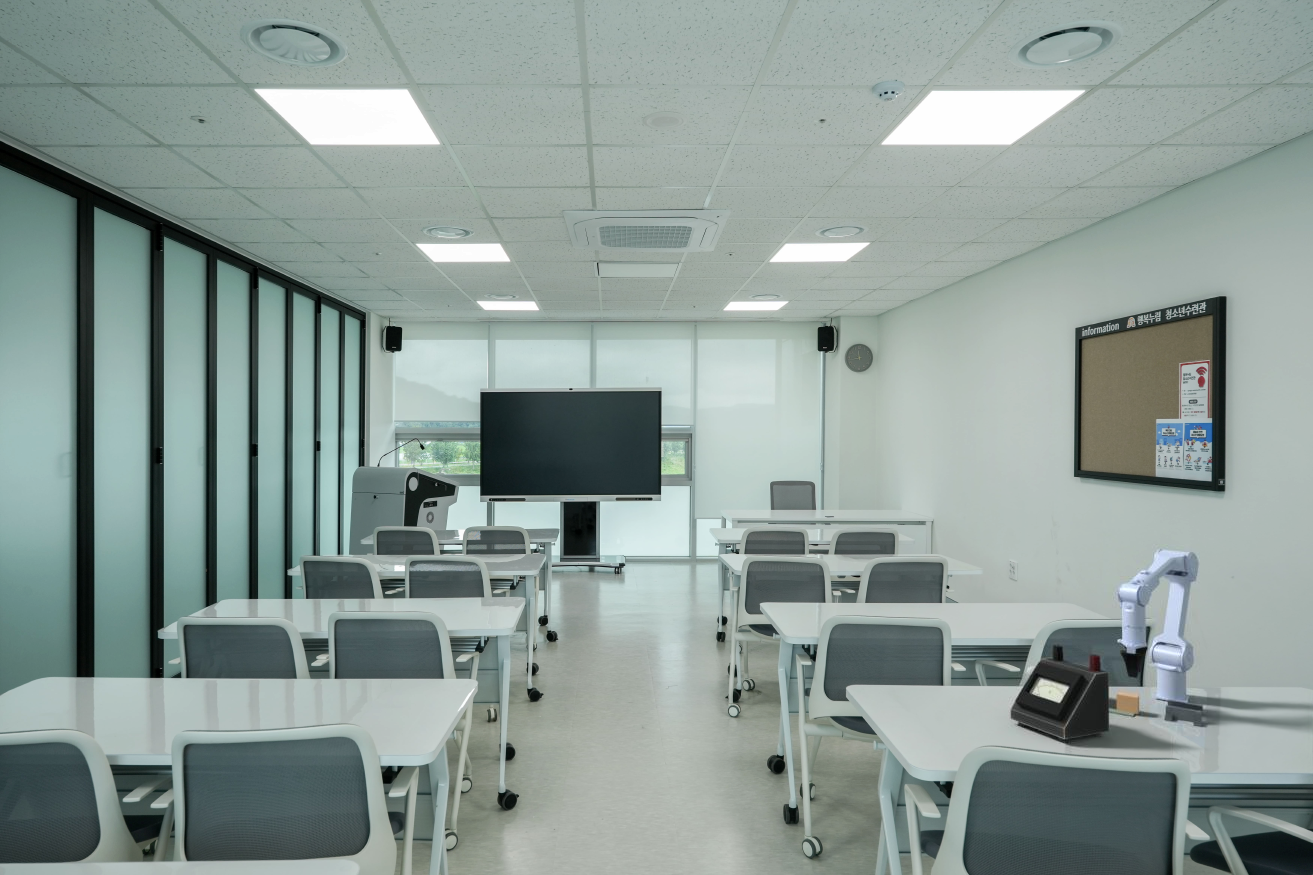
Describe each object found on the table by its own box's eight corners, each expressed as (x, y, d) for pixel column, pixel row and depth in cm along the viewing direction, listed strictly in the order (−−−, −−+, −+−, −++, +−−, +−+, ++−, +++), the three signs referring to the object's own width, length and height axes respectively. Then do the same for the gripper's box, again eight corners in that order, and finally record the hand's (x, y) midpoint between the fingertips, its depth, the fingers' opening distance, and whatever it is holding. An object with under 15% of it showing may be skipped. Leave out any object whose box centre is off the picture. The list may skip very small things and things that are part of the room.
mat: (1104, 703, 219) (1104, 702, 219) (1136, 709, 214) (1136, 708, 214) (1099, 710, 213) (1099, 709, 213) (1133, 716, 208) (1133, 715, 208)
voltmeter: (1009, 724, 200) (1009, 647, 201) (1053, 717, 206) (1053, 643, 207) (1063, 745, 185) (1063, 662, 186) (1109, 736, 192) (1108, 657, 192)
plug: (1086, 701, 220) (1086, 685, 220) (1139, 710, 212) (1139, 694, 212) (1084, 704, 217) (1084, 688, 217) (1137, 714, 209) (1137, 697, 209)
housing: (1168, 707, 217) (1168, 696, 217) (1203, 712, 212) (1203, 702, 212) (1164, 719, 205) (1164, 708, 206) (1200, 726, 201) (1200, 715, 201)
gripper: (1120, 620, 224) (1121, 666, 224) (1114, 628, 213) (1114, 676, 212) (1149, 623, 220) (1149, 670, 219) (1143, 631, 208) (1144, 681, 208)
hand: (1134, 674), depth 216 cm, fingers open, 7 cm apart
